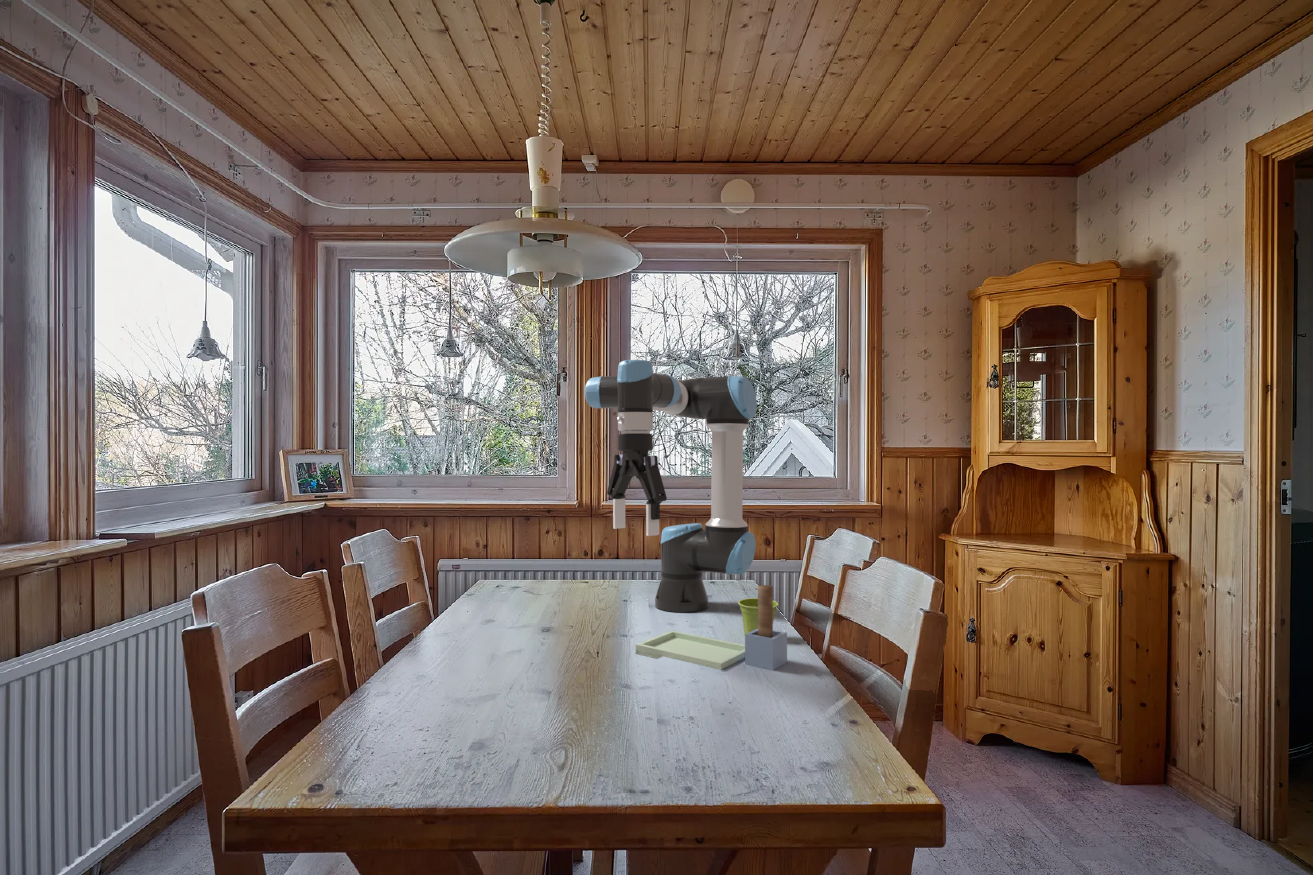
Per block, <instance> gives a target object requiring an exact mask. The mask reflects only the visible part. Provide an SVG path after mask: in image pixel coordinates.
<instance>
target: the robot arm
mask: <svg viewBox="0 0 1313 875" xmlns="http://www.w3.org/2000/svg"><path fill="white" fill-rule="evenodd" d="M584 398H585V401H586V403H587V405H589V407H591V408H593V409H601V410H602V409H617V419H616V420H617V430H618V431H619V432H620V433H619V434H618V435H617V450H618V451H620V452H622V454H614V456H613V460H614V461H613V467H612V471H611V474H610V475H611V476H610V478H609V482H608V483H609V484H608V487H607V492H606V494H607V496H610V498H611V499H612V511H613V512H612V513H613V515H612V525H613V527H612V529H614V530H616V529H626V495H625V494H626V491H627V490H628V486H630V482H631V481H632V478H633V477H635V478H636V479H638V481H639V483H640V486H641V487H642V490H643V492H644V494H645V497H646V499H647V501H646V503H645V504H646V506H645V512H646V516H645V519H646V522H645V523H646V524H645V526H646V528H645V529H646V530H645V533H646V534H645V535H646V537H653V536H660V517H661V515H660V514H661V513H660V511H661V507H660V506H661V504H662V502H666V501H667V497H668V496H667V493H666V490H665V486H664V482H663V479H662V474H661V472H660V469H659V468H660V467H659V457H658V456H657V455H649V452H651V451H653V448H654V446H653V445H654V444H653V443H654V442H653V441H654V438H653V436H654V435H652V433H651V432H652V431H653V430H654V412H653V411H659V412H660V411H661V412H663V413H664V414H666V415H669V416H677V417H681V418H686V419H687V418H688V419H694V420H695V419H696V420H706V427H708V428H709V429H710V431H711V479H710V480H711V485H710V486H711V490H710V492H711V494H710V495H711V496H710V499H711V501H710V502H711V503H710V505H711V506H710V511H711V512H710V519H709V520H708V521H707V522H706V523H705V529H704V527H703V524H702V523H701V522H698V523H697V522H695V523H683V524H676V525H670V526H665V527H664V528H663V529H662V531H661V537H660V538H661V539H660V561H661V562H660V564H661V565H660V574H661V575H660V582H659V585H658V587H657V592H656V595H655V598H654V606H655V607H656V609H659V610H661V611H666V612H674V613H689V612H690V613H691V612H699V611H700V612H701V611H703V610H707V608H709V596H708V594H707V590H706V587H705V584H704V581H703V572H704V573H705V572H706V573H716V574H726V575H728V576H730V575H738V576H739V575H743V574H745V573H747V572H748V571H749V569H750V568H751V566H752V563H753V561H754V558H755V554H756V553H755V552H756V546H757V543H756V542H757V541H756V536H755V535H754V533H753V532H751V531H749V524H748V523H747V522H746V521H745V520H744V519H743V497H744V496H743V486H744V484H743V483H744V482H743V481H744V477H743V475H744V474H743V473H744V431H745V430H746V429H747V428H748V427H749V423H750V422H749V421H750V420H751V419H753V418H755V416H756V414H757V412H756V411H757V410H758V408H757V407H758V404H757V402H758V401H757V394H756V392H755V388H754V386H753V384H752V382H751V381H750V379H748V378H747V377H745V376H738V375H735V376H734V375H726V376H711V377H697V378H696V377H694V378H689V379H682V380H681V379H680V380H678V379H676V378H675V377H674V376H671V375H669V374H667V373H655V372H654V367H653V364H652V362H651V361H650V360H645V359H627V360H626V359H625V360H622V361H620V362H619V364H618V366H617V375H612V376H610V375H609V376H602V375H600V376H596V377H591V378H589V379H588V380H587V382H586V383H585V386H584Z"/></svg>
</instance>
